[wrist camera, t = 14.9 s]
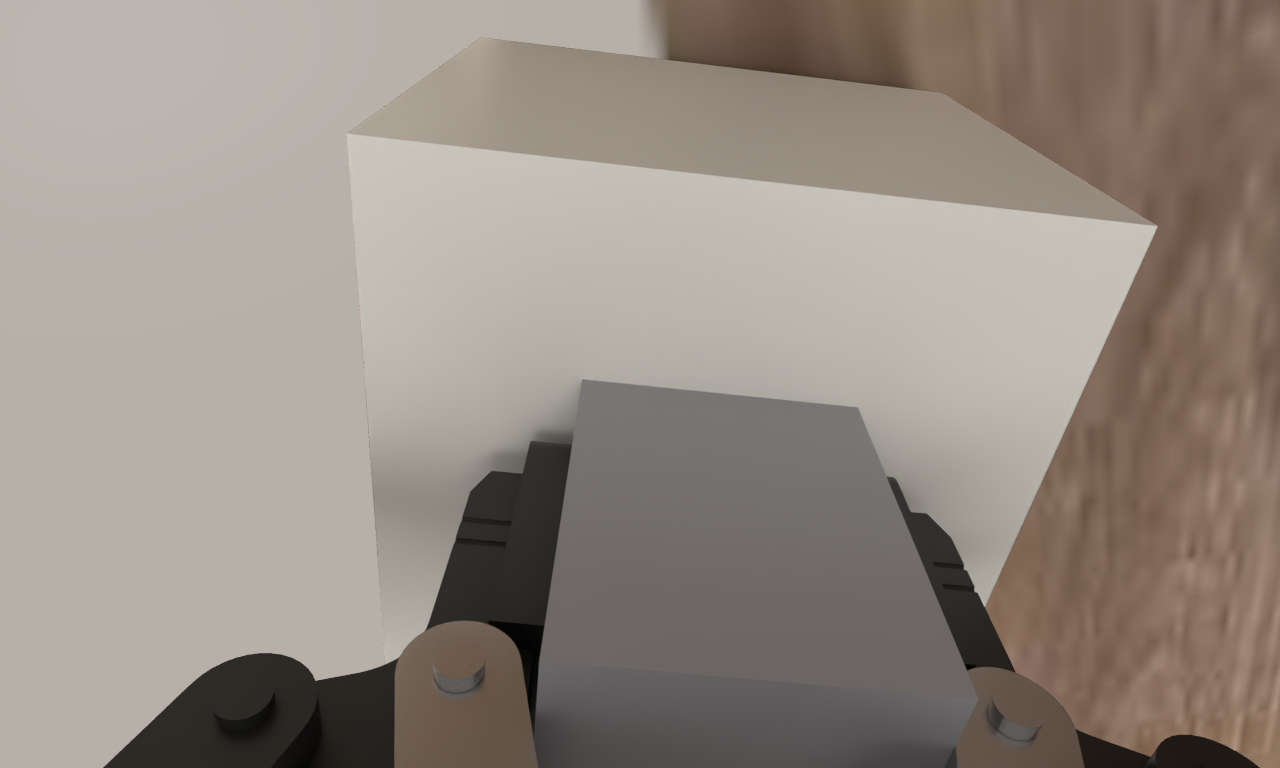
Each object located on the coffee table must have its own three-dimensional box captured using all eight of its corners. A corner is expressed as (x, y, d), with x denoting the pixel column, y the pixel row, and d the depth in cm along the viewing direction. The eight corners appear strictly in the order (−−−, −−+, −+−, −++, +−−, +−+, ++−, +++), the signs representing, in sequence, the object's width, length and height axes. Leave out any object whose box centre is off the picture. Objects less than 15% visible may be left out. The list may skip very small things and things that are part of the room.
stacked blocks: (942, 92, 18) (1528, 455, 6) (835, 463, 23) (1032, 1059, 11) (480, 37, 17) (101, 308, 5) (477, 428, 22) (278, 1008, 11)
